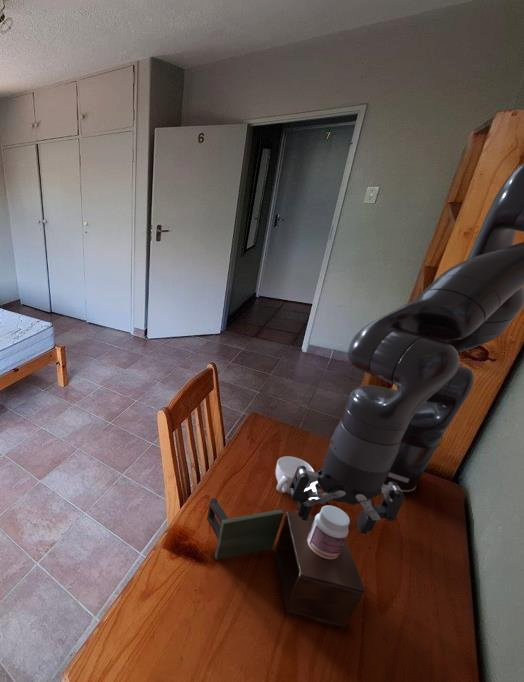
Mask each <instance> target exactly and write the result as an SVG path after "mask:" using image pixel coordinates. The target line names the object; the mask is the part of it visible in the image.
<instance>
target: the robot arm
mask: <svg viewBox="0 0 524 682" xmlns="http://www.w3.org/2000/svg"><path fill="white" fill-rule="evenodd" d="M517 231H518V232H522V233H524V163H522V164H520V165H519V166H518V167H517V168H515V170H513V171H512V172H511V173H510V175H509V176H508V177H507V178H506V179H505V181H504V182H503V184H502V185H501V187H500V188H499V190H498V192H497V193H496V195H495V197H494V198H493V200H492V203H491V205H490V207H489V208H488V210H487V213H486V215H485V217H484V220H483V222H482V224H481V226H480V229H479V230H478V233H477V235H476V238H475V240H474V242H473V244H472V247H471V249H470V251H469V253H468V255H467V258H466V259H465V260H463V261H461V262H459V263H457V264H455V265H453V266H451V267H450V268H448V269H446V270H445V271H443V273H442V274H440V275H439V276H438V277H437V278H436V279H434V280H433V281H432V282H431V283H430V284H429V285H428V286H427V287H426V288H425V289H424V290H423V291H422V292H421V293H420V294H419V295H418V296H417V297H416V298H414V299H413V300H412V301H409V302H408V303H405V304H404V305H402V306H400V307H398V308H396V309H394V310H392V311H391V312H388V313H386V314H385V315H382V316H380V317H379V318H377V319H375V320H373V321H371V322H369V323H368V324H366V325H365V326H364V327H362V328H361V329H360V330H359V331H358V332H357V333H356V334H355V335H354V337H353V338H352V339H351V341H350V343H349V344H348V345H349V346H348V350H347V355H348V356H347V357H348V360H349V362H350V364H351V365H352V366H353V367H354V368H356V369H358V370H359V371H361V372H363V373H367V374H369V375H371V376H373V377H376V378H377V379H378V378H379V379H381V380H383V381H385V382H387V383H389V384H392V385H394V386H395V387H396V389H393V388H389V387H384V386H379V385H371V384H370V385H369V384H367V385H360V386H357V387H355V388H354V389H353V390H352V391H351V393H350V395H349V396H348V398H347V401H346V404H345V407H344V409H343V412H342V416H341V418H340V420H339V422H338V423H337V425H336V427H335V429H334V431H333V434H332V436H331V437H330V441H329V442H330V443H329V445H328V448H327V451H326V454H325V457H324V458H323V462H322V467H321V469H319V470H318V471H314V472H312V471H307V470H306V467H305V466H298V467H297V470H296V472H295V475H294V477H293V479H292V482H291V484H290V487H289V489H290V493H291V494H290V496H291V500H292V501H293V502H295V503H297V504H296V511H297V512H296V513H297V514H298V515H299V517H301V520H304V521H307V519H308V516H310V513H311V511H312V506H315V505H317V504H321V505H323V504H326V503H327V502H330V501H332V502H336V503H345V504H348V505H351V506H355V505H358V504H359V505H361V507H362V509H361V511H360V513H359V514H358V517H357V519H356V526H357V530H358V531H359V533H360V534H364V535H367V533H369V532H371V531H373V528H374V527H375V525H376V522H378V521H380V520H381V519H385V520H386V521H389V522H394V521H396V519H397V516H398V515H399V512H400V511H401V510H400V509H401V507H402V505H403V503H404V500H405V495H404V494H410V493H413V492H414V491H415V490H416V488H417V485H418V484H419V481H420V480H421V478H422V476H423V474H424V473H425V470H426V468H427V467H428V465H429V463H430V461H431V459H432V457H433V456H434V454H435V452H436V450H437V448H438V447H439V444H440V442H441V441H442V439H443V436H444V435H445V433H446V431H447V430H448V428H449V427H450V425H451V424H452V421H454V418H455V416H456V415H457V413H458V412H459V410H460V409H461V407H462V406H463V405H464V403H465V401H466V400H467V398H468V396H469V395H470V393H471V391H472V389H473V386H474V382H475V373H474V371H473V370H472V369H471V368H470V367H467V366H465V365H461V364H460V361H461V360H460V359H461V358H460V356H459V355H460V354H459V353H463V352H465V351H468V350H471V349H475V348H477V347H479V346H483V345H484V344H487V343H489V342H491V341H493V340H495V339H496V338H498V337H499V336H501V335H503V333H504V332H505V331H506V330H507V329H508V327H509V326H510V324H511V323H512V322H513V321H514V319H516V318H517V316H518V314H519V313H520V312H521V310H522V309H523V307H524V241H522V242H518V243H516V244H514V242H515V237H516V233H517ZM311 482H312V483H311ZM310 483H311V485H310ZM307 485H308V486H309V487H308V488H306V486H307ZM305 488H306V489H305ZM322 491H323V493H322ZM381 494H382V497H381V500H380V503H379V505H375V504H374V502H373V501H372V499H374V498H376V497H378V496H380V495H381Z"/></svg>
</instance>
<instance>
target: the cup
mask: <svg viewBox="0 0 524 682" xmlns="http://www.w3.org/2000/svg"><path fill="white" fill-rule="evenodd" d="M298 466H305V467H306V470H307V471H312V472H315V470H314V469H313V467H312V466H311V464H309V463H308V462H306V461H305V460H303V459H301V458H299V457H295V456H292V455H291V456H290V455H285V456H281V457H280V458H278V460H277V461H276V465H275V478H276V482H277V485H276V491H277V492H279V494H285V493H287V495H291V493H290V489H289V487H290V484H291V482H292V479H293V477H294V475H295V472H296V470H297V467H298ZM311 483H313V481H312V482H311ZM311 483H310V485H311ZM308 487H310V486H308V485H307V486H306V488H308ZM306 488H305V489H306Z"/></svg>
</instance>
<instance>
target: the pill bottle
mask: <svg viewBox="0 0 524 682" xmlns="http://www.w3.org/2000/svg"><path fill="white" fill-rule="evenodd" d="M314 517H315V519H314V522H313V525H312V527H311V530H310V533H309V536H308V545H309V547H310V548H311V549H312V550H313V551H314V552H315V553H316V554H317V555H319V556H321V557H323V558H326V559H335V558H337V557H338V555H339V553H340V551H341V549H342V547H343V544H344V542H345V540H347V537H348V536H349V532H350V531H349V526H350V523H351V519H350V517H349V515H348V514H347V513H346V512H345V511H344V510H342V509H341V508H339V507H337V506H334V505H331V504H330V505H324V506H322V507H321V509H320V511H319V512H318V513H317V514H316V515H315V516H314Z"/></svg>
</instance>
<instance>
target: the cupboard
mask: <svg viewBox="0 0 524 682" xmlns="http://www.w3.org/2000/svg"><path fill="white" fill-rule="evenodd" d="M314 519H315V516H311V515H309V516H308V519H307V521H304V520H301V517H299V515H298V512H291V511H286V513H285V515H284V518H283V521H282V525H281V526H280V527H281V528H280V530H279V533H278V537H277V540H276V542H275V546H274V552H275V557H276V562H277V568H278V574H279V580H280V585H281V590H282V596H283V601H284V607H285V613H288V614H291V615H294V616H298V617H302V618H305V619H309V620H312V621H314V622H317V623H322V624H325V625H329V626H332V627H336V628H340V629H343V630H345V629H346V627H347V625H348V623H349V622H350V619H351V618H352V616H353V614H354V612H355V611H356V609H357V607H358V605H359V603H360V601H361V599H362V597H363V596H364V594H365V592H366V589H365V587H364V583H363V581H362V578H361V576H360V573H359V569H358V568H357V564H356V561H355V559H354V557H353V553H352V551H351V548H350V546H349V543H348V539H346V540H345V542H344V544H343V547H342V549H341V551H340V553H339V555H338V557H337V558H335V559H326V558H323V557H321V556H319V555H317V554H316V553H315V552H314V551H313V550H312V549H311V548H310V547H309V545H308V536H309V533H310V530H311V527H312V525H313V522H314Z"/></svg>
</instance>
